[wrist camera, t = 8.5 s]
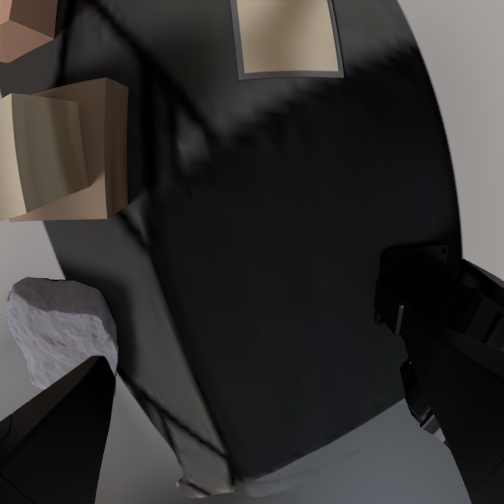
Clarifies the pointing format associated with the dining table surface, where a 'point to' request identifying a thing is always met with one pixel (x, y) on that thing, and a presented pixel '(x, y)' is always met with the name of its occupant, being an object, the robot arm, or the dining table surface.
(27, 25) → the terracotta block
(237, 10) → the tile
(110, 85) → the walnut base block
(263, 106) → the dining table surface
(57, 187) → the oak block
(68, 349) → the stone block
